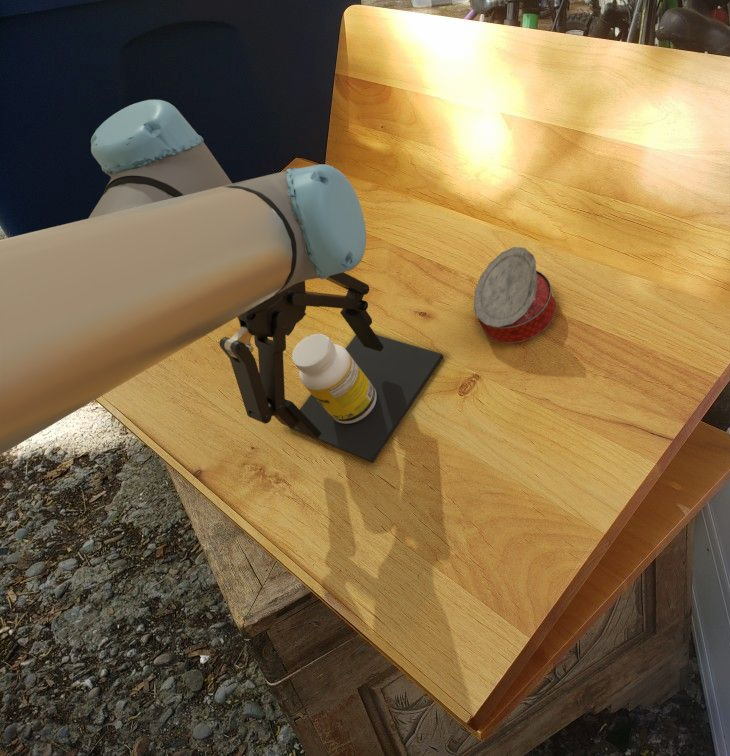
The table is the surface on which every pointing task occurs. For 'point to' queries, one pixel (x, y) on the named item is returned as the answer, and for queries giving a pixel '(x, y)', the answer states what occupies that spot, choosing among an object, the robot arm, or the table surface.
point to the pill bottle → (334, 378)
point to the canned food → (514, 298)
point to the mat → (394, 396)
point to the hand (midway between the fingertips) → (343, 388)
